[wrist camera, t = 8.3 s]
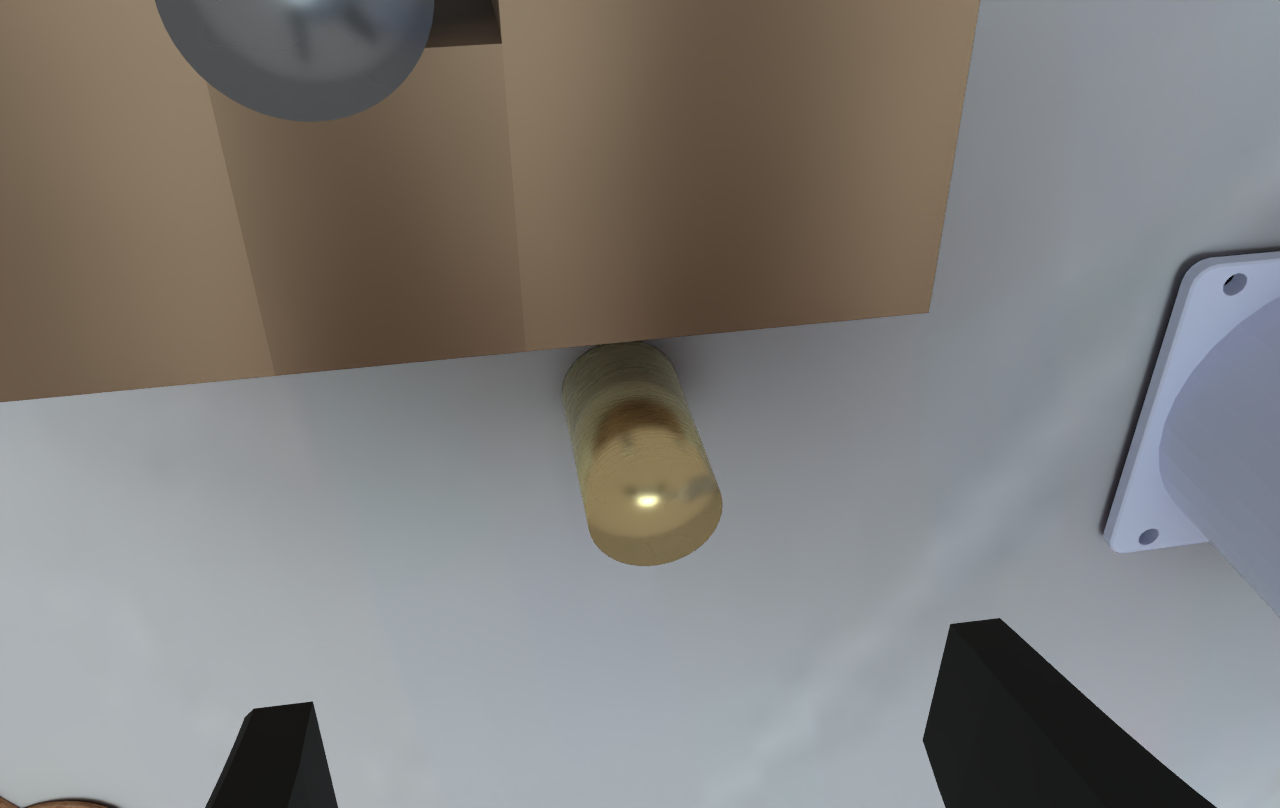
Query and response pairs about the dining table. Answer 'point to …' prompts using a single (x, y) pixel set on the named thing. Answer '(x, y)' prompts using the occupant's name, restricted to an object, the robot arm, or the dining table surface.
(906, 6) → the hole block
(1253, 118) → the dining table surface
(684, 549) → the short pin
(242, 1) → the long pin
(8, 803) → the key
